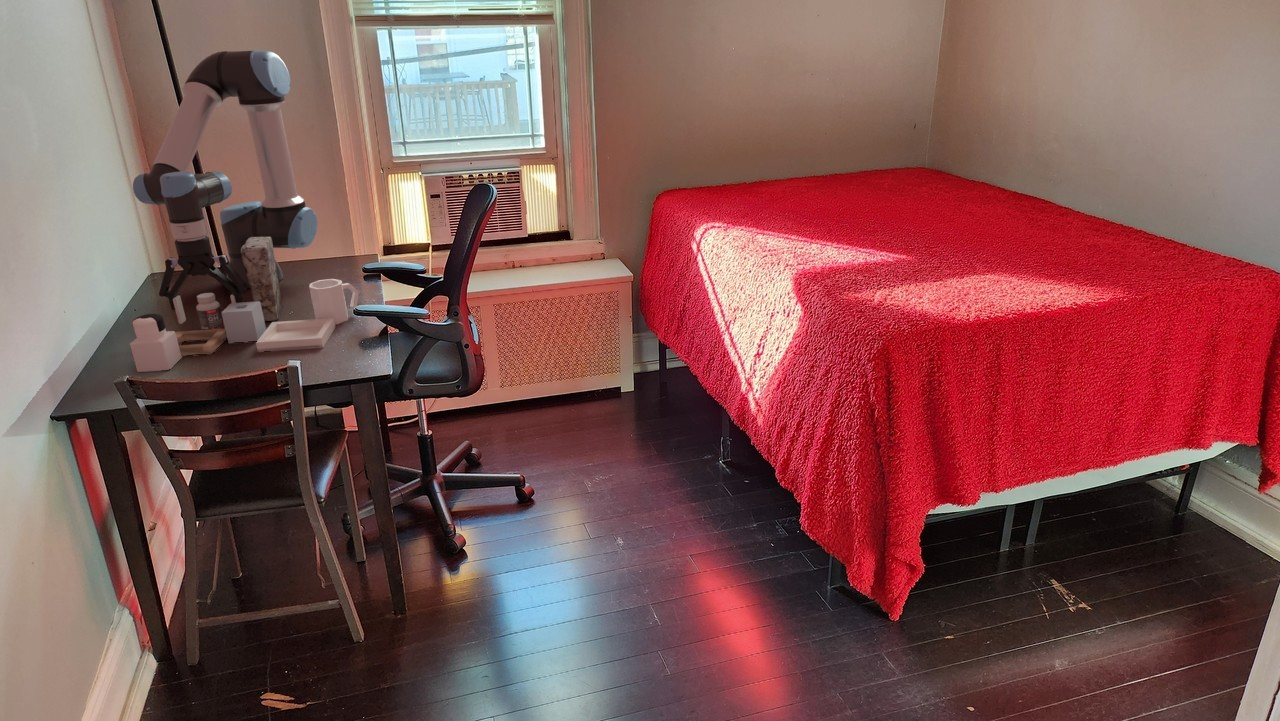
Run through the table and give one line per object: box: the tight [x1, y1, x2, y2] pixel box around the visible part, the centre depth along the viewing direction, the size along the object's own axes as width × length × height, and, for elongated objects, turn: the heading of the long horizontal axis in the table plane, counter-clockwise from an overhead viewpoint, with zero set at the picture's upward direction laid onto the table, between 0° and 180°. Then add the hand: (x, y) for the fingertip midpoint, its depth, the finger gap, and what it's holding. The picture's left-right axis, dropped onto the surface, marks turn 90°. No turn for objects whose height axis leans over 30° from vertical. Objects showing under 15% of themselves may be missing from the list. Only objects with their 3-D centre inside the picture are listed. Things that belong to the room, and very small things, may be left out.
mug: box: [308, 278, 360, 326], centre depth 217 cm, size 12×9×10 cm
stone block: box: [241, 237, 283, 322], centre depth 219 cm, size 13×7×20 cm, turn 21°
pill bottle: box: [195, 292, 225, 330], centre depth 210 cm, size 5×5×10 cm
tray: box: [255, 318, 336, 353], centre depth 205 cm, size 14×15×2 cm
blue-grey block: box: [221, 301, 267, 344], centre depth 206 cm, size 7×7×8 cm
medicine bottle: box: [129, 313, 183, 373], centre depth 190 cm, size 7×7×12 cm
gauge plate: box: [175, 329, 228, 355], centre depth 202 cm, size 12×12×2 cm
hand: (210, 320), depth 211 cm, fingers open, 13 cm apart
